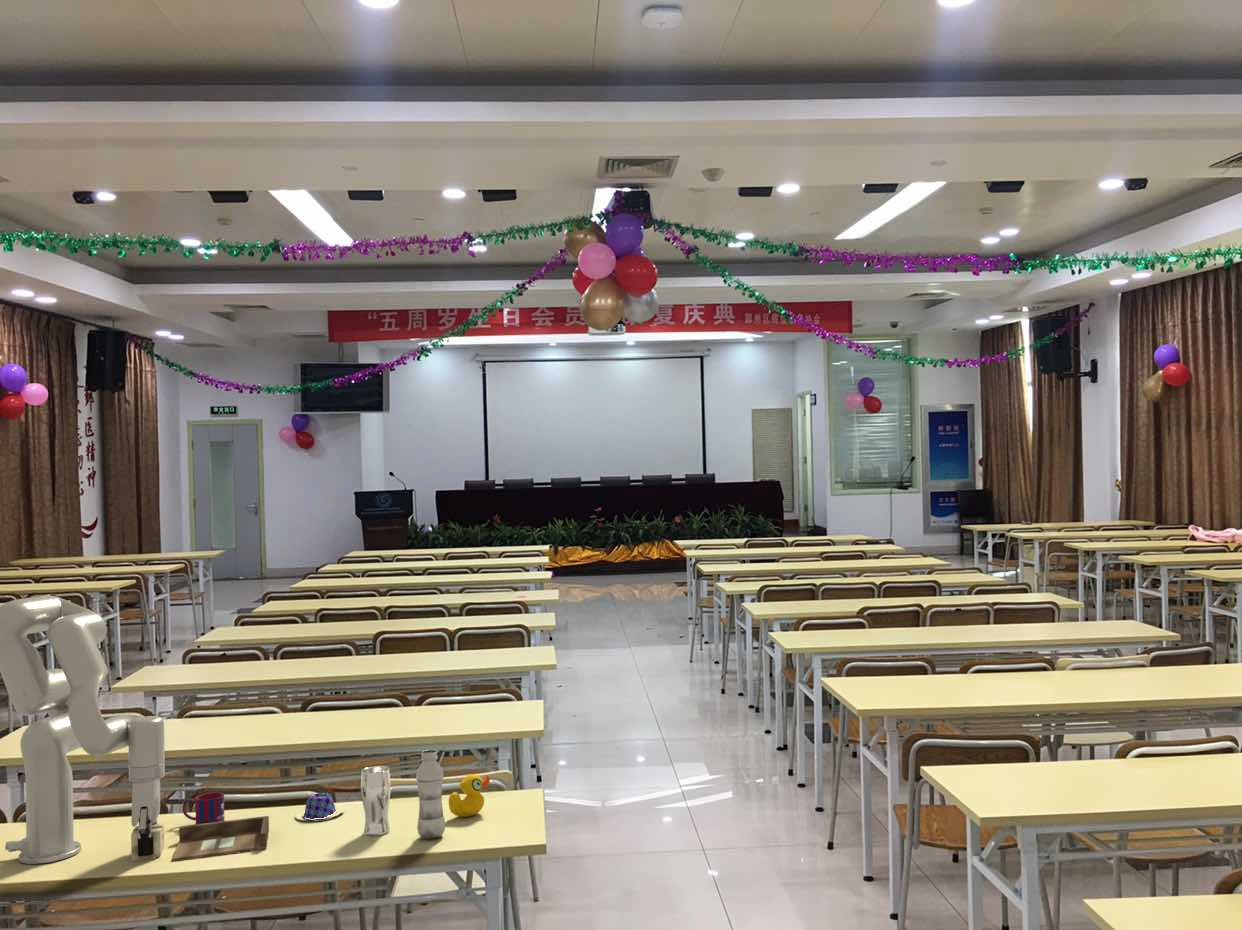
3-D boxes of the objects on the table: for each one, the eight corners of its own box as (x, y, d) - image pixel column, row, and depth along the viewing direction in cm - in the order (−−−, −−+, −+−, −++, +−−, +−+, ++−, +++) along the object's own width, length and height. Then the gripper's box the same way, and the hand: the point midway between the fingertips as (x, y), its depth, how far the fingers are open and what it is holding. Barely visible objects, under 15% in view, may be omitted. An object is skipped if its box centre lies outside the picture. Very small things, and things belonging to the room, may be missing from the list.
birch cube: (131, 861, 224) (131, 833, 225) (136, 852, 230) (135, 825, 230) (160, 857, 226) (160, 830, 226) (164, 849, 232) (163, 822, 232)
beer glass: (381, 838, 234) (379, 774, 235) (356, 835, 236) (354, 772, 237) (397, 828, 241) (395, 766, 241) (372, 826, 243) (371, 764, 244)
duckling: (485, 808, 255) (484, 768, 255) (495, 813, 251) (494, 773, 251) (445, 817, 248) (444, 777, 249) (455, 822, 244) (453, 781, 244)
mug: (216, 827, 246) (216, 799, 247) (177, 827, 247) (177, 800, 247) (229, 819, 253) (228, 792, 253) (191, 819, 254) (191, 792, 254)
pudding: (354, 812, 256) (353, 792, 256) (318, 826, 246) (317, 805, 246) (321, 806, 262) (321, 786, 262) (285, 820, 252) (284, 799, 252)
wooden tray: (172, 861, 223) (172, 845, 223) (180, 841, 237) (179, 826, 237) (266, 849, 229) (266, 833, 229) (268, 830, 243) (268, 815, 243)
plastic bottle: (450, 833, 236) (448, 748, 237) (437, 843, 230) (435, 755, 230) (425, 831, 238) (423, 747, 239) (412, 841, 231) (410, 754, 232)
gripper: (135, 764, 236) (136, 841, 235) (122, 783, 220) (123, 865, 219) (169, 760, 238) (171, 836, 237) (159, 779, 222) (160, 860, 221)
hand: (148, 849), depth 228 cm, fingers closed on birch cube, 6 cm apart
